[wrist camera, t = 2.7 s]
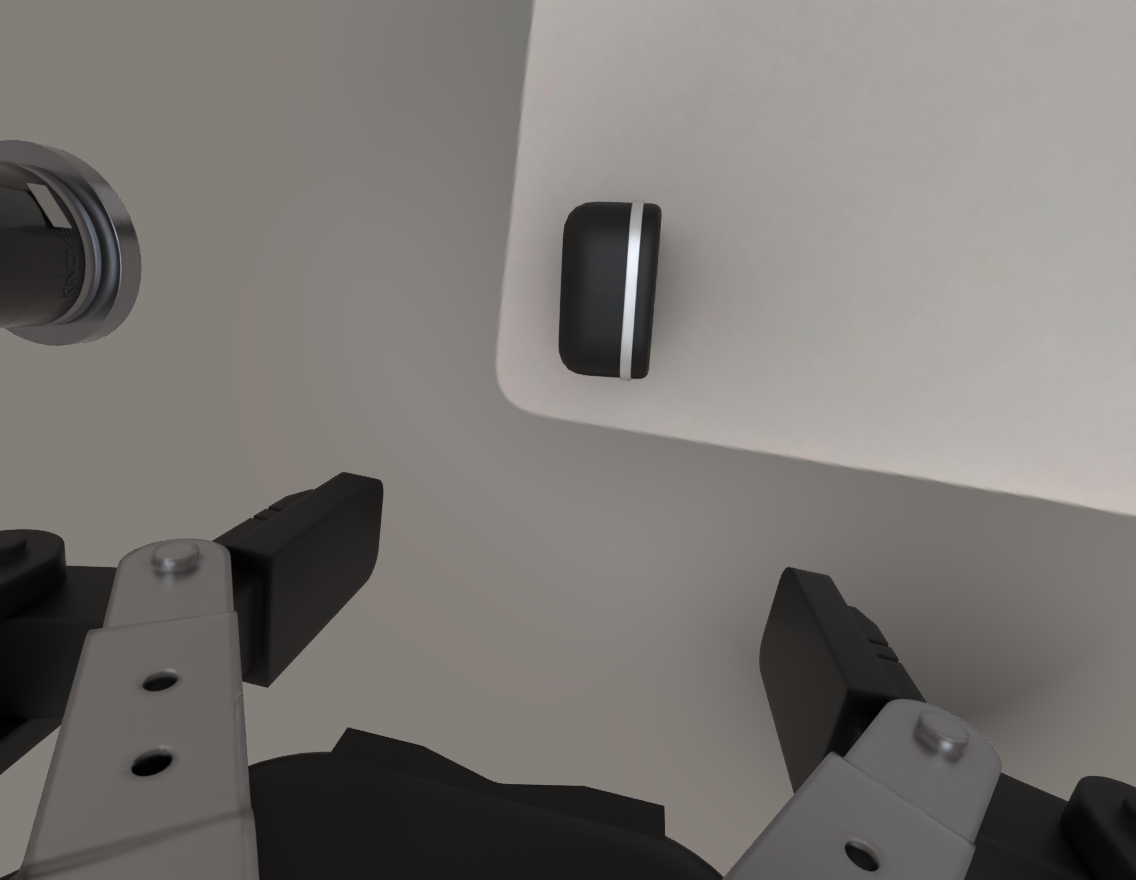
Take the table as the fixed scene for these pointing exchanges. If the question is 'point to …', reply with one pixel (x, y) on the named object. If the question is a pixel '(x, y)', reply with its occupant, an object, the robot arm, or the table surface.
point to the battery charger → (609, 288)
